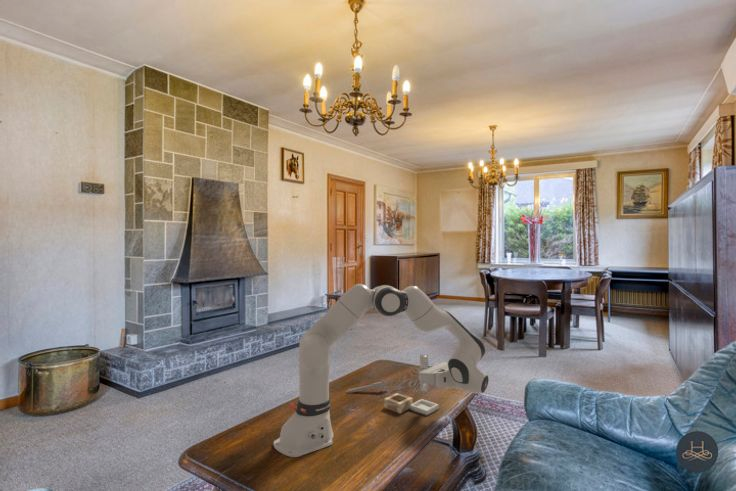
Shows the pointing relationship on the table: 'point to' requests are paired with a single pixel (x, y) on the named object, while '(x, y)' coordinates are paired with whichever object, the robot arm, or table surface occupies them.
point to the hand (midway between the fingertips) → (422, 368)
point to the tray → (424, 407)
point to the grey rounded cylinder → (424, 365)
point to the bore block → (398, 403)
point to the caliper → (374, 386)
